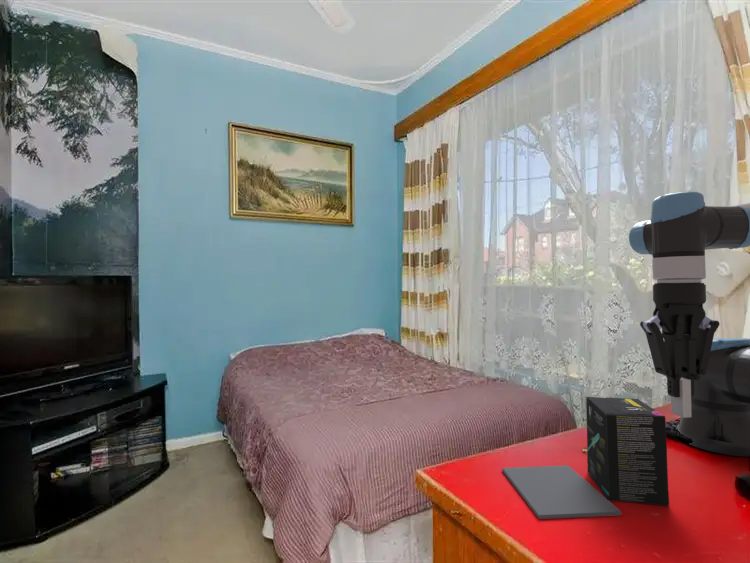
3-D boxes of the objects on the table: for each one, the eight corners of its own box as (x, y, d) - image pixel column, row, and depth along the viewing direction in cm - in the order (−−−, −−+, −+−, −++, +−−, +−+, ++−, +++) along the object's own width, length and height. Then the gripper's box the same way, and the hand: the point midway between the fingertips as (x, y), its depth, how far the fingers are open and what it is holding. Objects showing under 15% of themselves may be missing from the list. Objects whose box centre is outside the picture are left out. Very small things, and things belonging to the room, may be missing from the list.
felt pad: (568, 468, 79) (568, 465, 79) (621, 515, 63) (621, 511, 63) (502, 470, 78) (502, 467, 78) (539, 519, 62) (538, 515, 62)
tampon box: (670, 507, 65) (668, 416, 65) (607, 502, 67) (605, 413, 67) (640, 475, 76) (638, 396, 76) (586, 471, 78) (585, 395, 78)
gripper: (696, 281, 76) (698, 407, 76) (628, 282, 75) (631, 409, 75) (733, 280, 68) (736, 421, 68) (658, 282, 68) (661, 423, 68)
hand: (681, 414), depth 72 cm, fingers closed
